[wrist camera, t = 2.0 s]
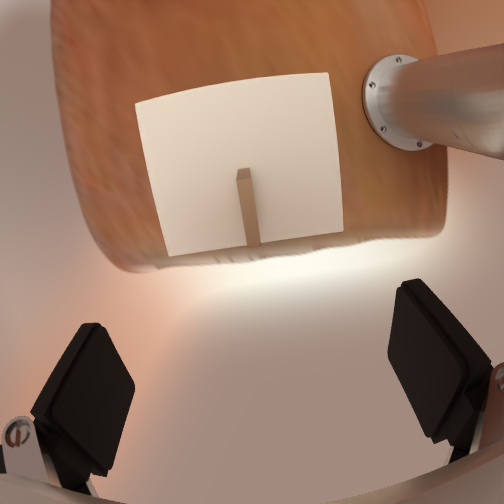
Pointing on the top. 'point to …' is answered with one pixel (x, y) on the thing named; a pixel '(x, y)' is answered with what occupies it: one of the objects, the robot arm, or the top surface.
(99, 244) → the top surface
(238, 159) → the carton flap
